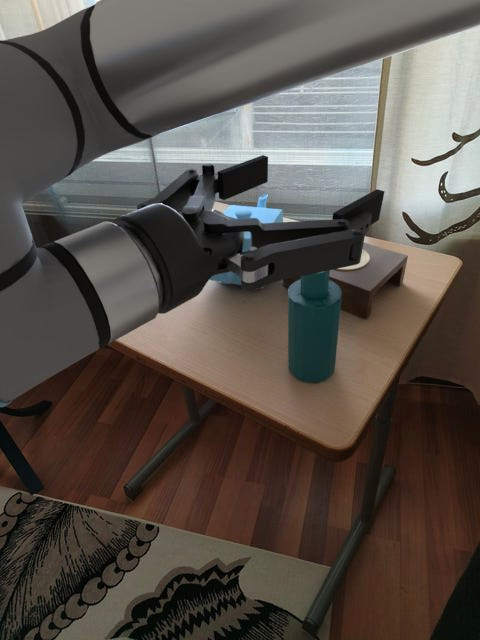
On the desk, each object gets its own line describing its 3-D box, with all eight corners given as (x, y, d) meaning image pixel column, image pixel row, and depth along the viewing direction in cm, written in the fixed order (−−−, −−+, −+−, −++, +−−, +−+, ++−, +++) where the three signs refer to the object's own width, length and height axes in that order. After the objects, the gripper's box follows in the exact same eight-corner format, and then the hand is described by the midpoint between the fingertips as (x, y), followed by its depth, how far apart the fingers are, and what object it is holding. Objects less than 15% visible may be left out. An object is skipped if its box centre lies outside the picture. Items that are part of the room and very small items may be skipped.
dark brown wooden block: (402, 283, 80) (408, 254, 77) (366, 319, 73) (370, 290, 69) (322, 256, 90) (323, 229, 87) (282, 285, 83) (282, 258, 79)
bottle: (343, 363, 65) (354, 262, 54) (317, 390, 61) (323, 287, 50) (305, 345, 69) (308, 247, 58) (279, 369, 65) (276, 269, 54)
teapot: (258, 304, 79) (254, 237, 70) (204, 294, 82) (194, 230, 74) (291, 247, 94) (291, 187, 86) (245, 242, 98) (241, 183, 89)
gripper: (65, 254, 39) (229, 188, 51) (261, 400, 25) (427, 264, 37) (40, 175, 35) (227, 122, 46) (263, 300, 21) (453, 179, 32)
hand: (316, 185), depth 41 cm, fingers open, 13 cm apart
